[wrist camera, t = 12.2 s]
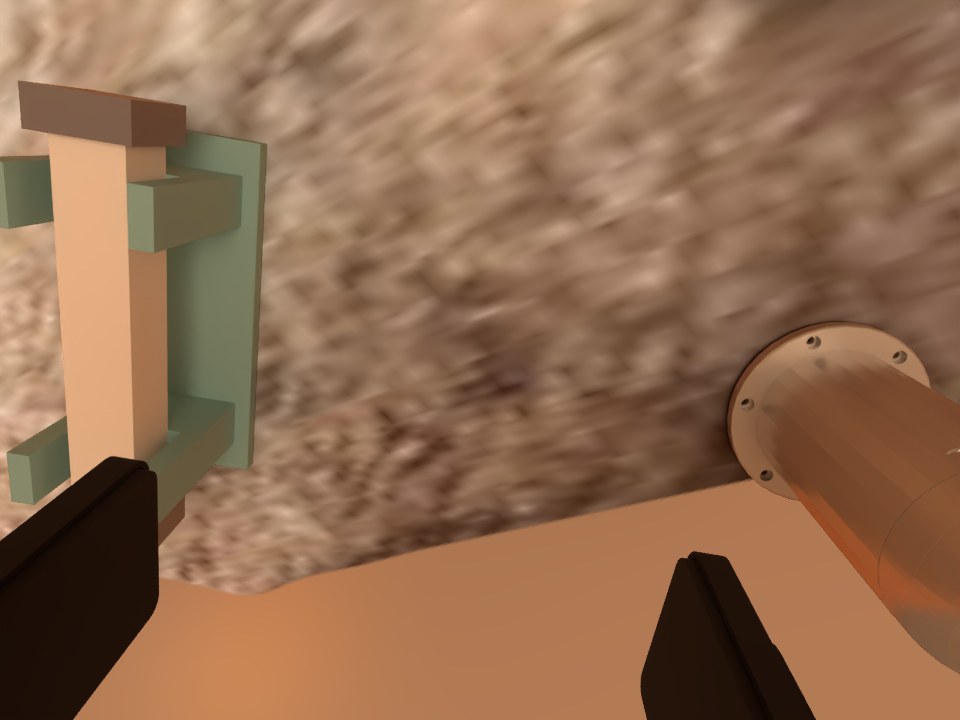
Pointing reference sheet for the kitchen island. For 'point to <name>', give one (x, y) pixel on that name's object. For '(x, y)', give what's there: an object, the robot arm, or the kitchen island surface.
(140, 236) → the rack
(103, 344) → the tan wooden bar
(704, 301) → the kitchen island surface
